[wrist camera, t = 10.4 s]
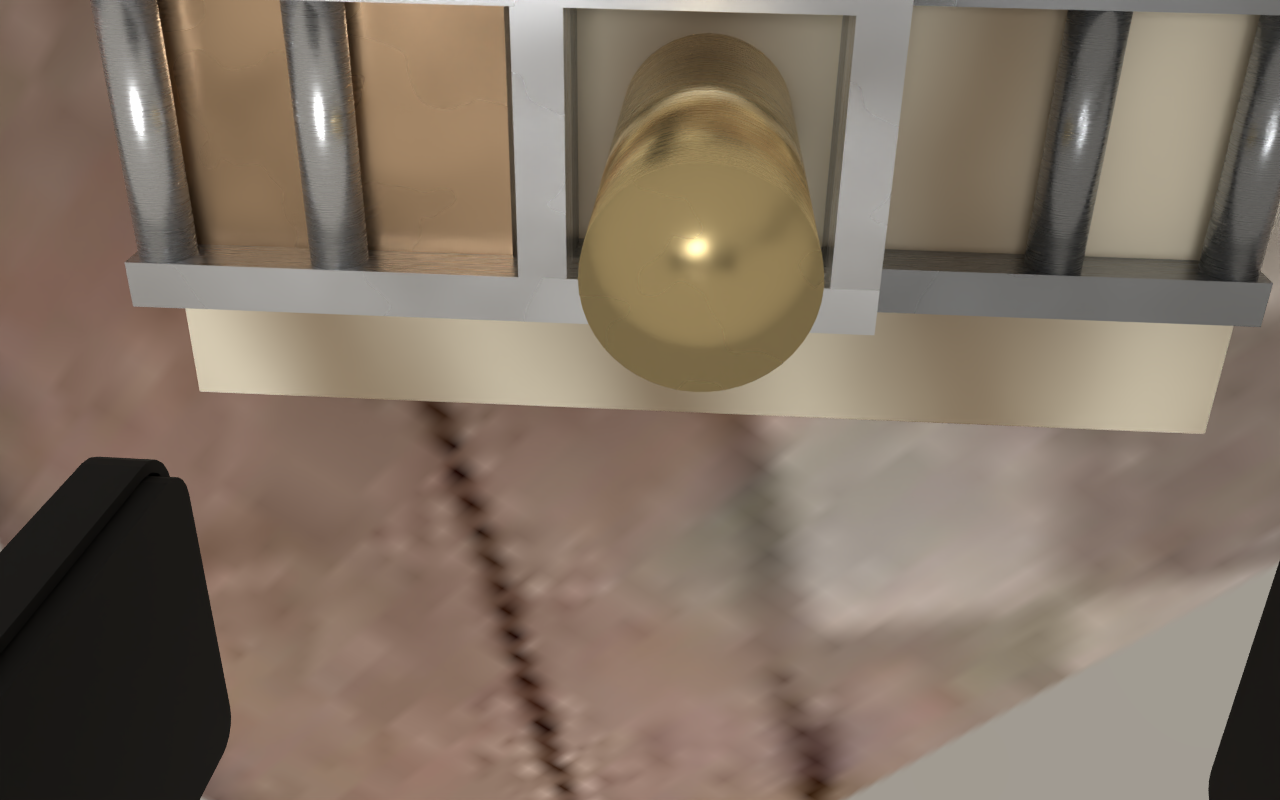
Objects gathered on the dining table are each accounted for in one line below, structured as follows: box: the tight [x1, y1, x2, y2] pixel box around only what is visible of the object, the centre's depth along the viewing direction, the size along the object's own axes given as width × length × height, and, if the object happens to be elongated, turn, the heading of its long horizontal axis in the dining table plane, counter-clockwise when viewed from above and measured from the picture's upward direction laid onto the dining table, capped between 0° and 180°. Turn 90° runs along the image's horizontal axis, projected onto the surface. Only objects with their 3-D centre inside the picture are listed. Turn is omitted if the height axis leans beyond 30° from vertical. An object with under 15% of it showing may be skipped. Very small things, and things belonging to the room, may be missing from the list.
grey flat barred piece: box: [90, 0, 914, 335], centre depth 25 cm, size 16×8×2 cm, turn 89°
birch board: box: [185, 6, 1260, 434], centre depth 26 cm, size 24×14×1 cm, turn 89°
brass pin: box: [578, 33, 824, 392], centre depth 22 cm, size 4×4×9 cm
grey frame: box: [570, 0, 1280, 327], centre depth 25 cm, size 16×7×1 cm, turn 89°
